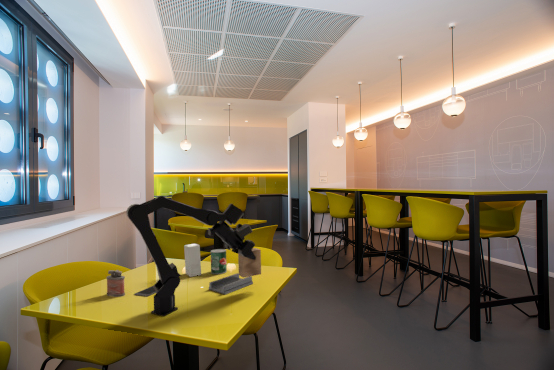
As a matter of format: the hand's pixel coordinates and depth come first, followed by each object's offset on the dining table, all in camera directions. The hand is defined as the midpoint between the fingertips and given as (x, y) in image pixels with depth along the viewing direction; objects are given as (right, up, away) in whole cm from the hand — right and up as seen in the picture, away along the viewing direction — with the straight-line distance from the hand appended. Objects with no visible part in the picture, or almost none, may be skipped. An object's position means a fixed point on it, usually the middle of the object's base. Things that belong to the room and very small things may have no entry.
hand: (252, 257), depth 117 cm
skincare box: (-32, -15, +25) cm, 44 cm away
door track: (-10, -14, +6) cm, 18 cm away
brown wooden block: (-1, -7, -1) cm, 7 cm away
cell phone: (-43, -15, +4) cm, 46 cm away
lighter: (-56, -15, -1) cm, 58 cm away
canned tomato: (-20, -15, +28) cm, 37 cm away
